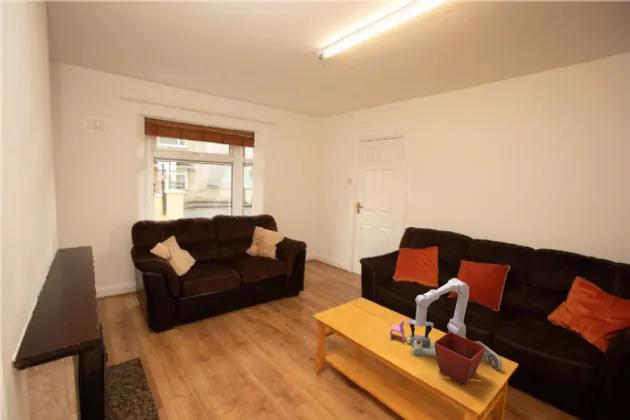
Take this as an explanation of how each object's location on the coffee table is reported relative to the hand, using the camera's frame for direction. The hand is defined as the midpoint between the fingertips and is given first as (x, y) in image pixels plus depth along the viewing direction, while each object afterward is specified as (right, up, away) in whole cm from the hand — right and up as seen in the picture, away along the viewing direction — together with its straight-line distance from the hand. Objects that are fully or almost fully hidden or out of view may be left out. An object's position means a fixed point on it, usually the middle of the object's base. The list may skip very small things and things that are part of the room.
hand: (419, 336), depth 169 cm
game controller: (+37, -12, -5) cm, 40 cm away
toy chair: (-9, -8, +15) cm, 19 cm away
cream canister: (-1, -9, +1) cm, 9 cm away
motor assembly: (+3, -10, +4) cm, 11 cm away
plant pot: (+14, -13, -16) cm, 25 cm away
